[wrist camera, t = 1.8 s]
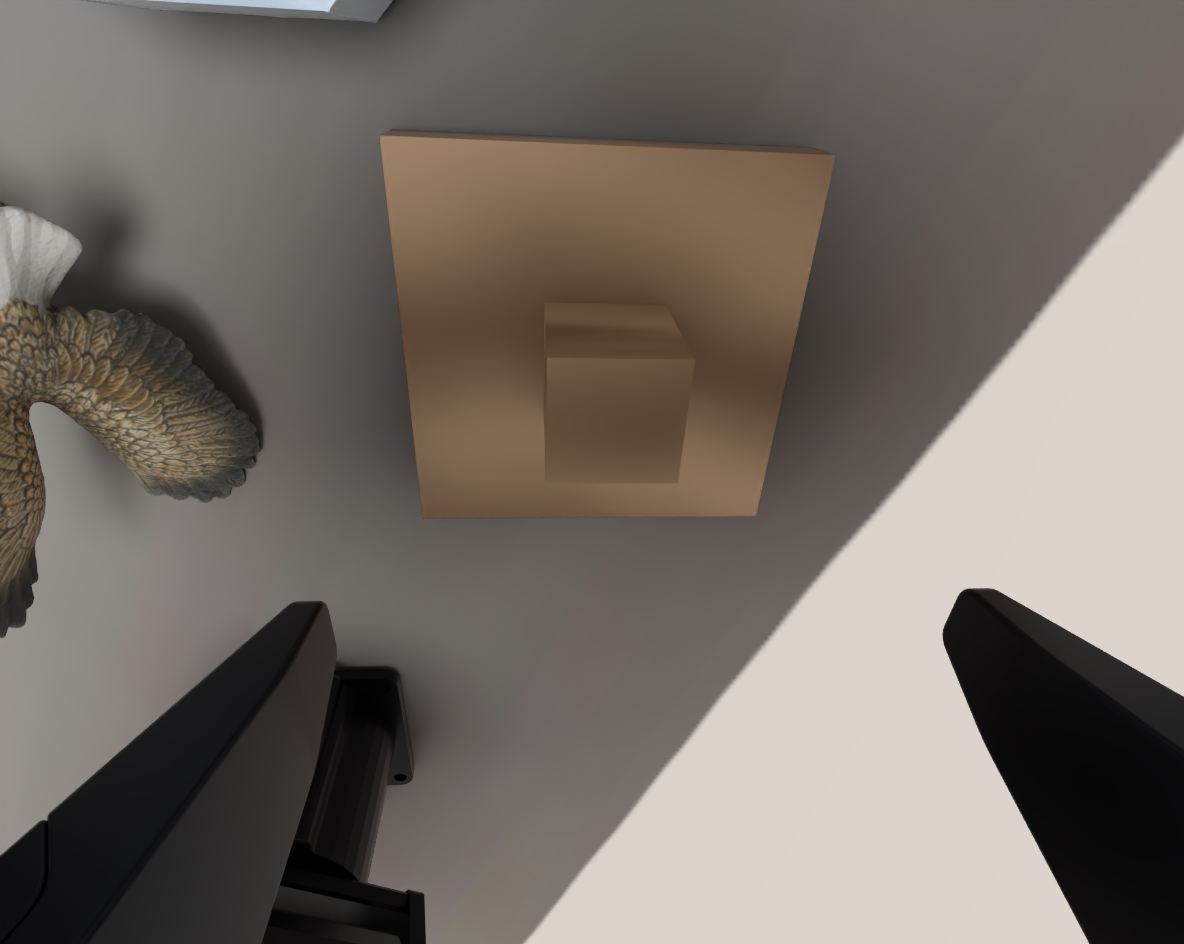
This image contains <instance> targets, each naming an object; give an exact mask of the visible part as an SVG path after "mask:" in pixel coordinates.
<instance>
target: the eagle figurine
mask: <svg viewBox="0 0 1184 944" xmlns="http://www.w3.org/2000/svg"><path fill="white" fill-rule="evenodd" d="M81 252H82V245H81V243H80V241H79V239H77V238H75V237H74V236H73V234H71V233H70V232H69V231H68V230H66V229H65V228H62V227H60V226H58V225H56V224H54V223H51V222H50V221H48V220H45V219H44V218H42V217H41V216H39V215H37V214H36V213H35V212H33V211H31V210H29V209H27V208H24V207H21V206H5V207H4V205H3V204H2V203H0V638H4V637H5V635H6V633H7V629H8V627H11V628H19V627H22V626H23V625H24V624H25V622H26V610H27V609H28V608H29V607H30V606H31V605H32V604H33V600H34V596H33V592H32V586H31V585H32V584H33V583H35V582H37V580H38V573H37V561H36V557H35V542H36V539H37V537H38V535H39V533H40V530H41V525H42V521H43V517H44V514H45V502H46V498H45V484H44V477H43V473H42V469H41V465H40V462H39V457H38V453H37V449H36V444H35V439H34V435H33V432H32V429H31V426H30V422H29V409H30V407H31V405H32V404H33V403H34V402H45V403H49V404H51V405H54V406H56V407H58V408H59V409H60V410H62V411H63V412H64V413H66V414H67V415H68V416H70V417H71V418H72V419H74V420H75V421H76V422H77V423H78V424H80V425H81V426H82V427H84V428H85V429H86V430H88V431H89V432H90V433H91V434H92V435H94V436H95V437H96V438H97V439H98V440H99V441H100V442H101V443H102V444H103V445H104V446H105V447H106V448H107V449H108V450H109V451H110V452H111V453H112V454H114V455H115V456H116V457H117V458H119V459H120V460H121V461H122V462H124V464H125V465H126V466H127V467H128V468H129V469H130V471H131V472H132V473H133V475H134V476H135V477H136V479H137V480H138V482H139V483H140V484H141V486H142V487H143V488H144V489H145V490H146V491H147V492H148V493H149V494H151V495H154V496H159V495H162V494H166V495H169V496H171V497H173V498H174V499H177V500H184V499H186V498H187V497H189V496H192V497H193V498H195V499H196V500H198V501H201V502H209V501H211V500H212V499H213V497H218V498H226V497H228V496H229V495H230V492H231V487H232V486H234V487H240V486H242V485H243V483H244V481H245V476H244V472H243V471H242V468H252V467H253V466H254V465H255V462H254V461H253V458H252V456H253V455H257V454H258V452H259V451H260V447H259V439H258V437H257V436H256V435H255V432H256V427H255V425H254V424H253V423H251V422H250V421H249V415H248V414H247V413H246V412H245V411H244V410H239V409H236V408H235V404H234V403H233V402H232V401H231V400H230V398H229V396H228V395H227V394H226V393H224V392H222V391H219V390H215V389H214V383H213V382H212V380H211V379H209V378H207V377H206V375H205V372H204V370H202V368H200V367H198V366H196V365H193V364H192V358H193V356H192V353H191V352H190V351H188V350H187V349H186V348H185V343H184V341H183V340H182V339H181V338H180V337H177V336H175V335H174V334H173V333H172V332H171V331H170V330H169V329H167V328H166V327H164V326H161V325H158V324H155V323H154V322H153V320H152V319H151V318H150V317H149V316H147V315H146V314H143V313H136V314H134V313H133V312H131V311H129V310H127V309H120V310H118V311H117V312H115V313H111V314H109V313H107V312H105V311H101V310H95V309H94V310H90V311H89V312H87V313H86V314H82V313H80V312H78V311H77V310H76V309H74V308H72V307H70V306H63V307H56V306H53V305H52V304H51V300H52V297H53V295H54V293H55V292H56V291H57V289H58V287H59V285H60V283H61V282H62V281H63V279H64V277H65V275H66V274H67V272H68V271H69V269H70V268H71V267H72V265H73V264H74V262H75V261H76V260H77V258H78V257H79V255H80V253H81Z"/></svg>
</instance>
